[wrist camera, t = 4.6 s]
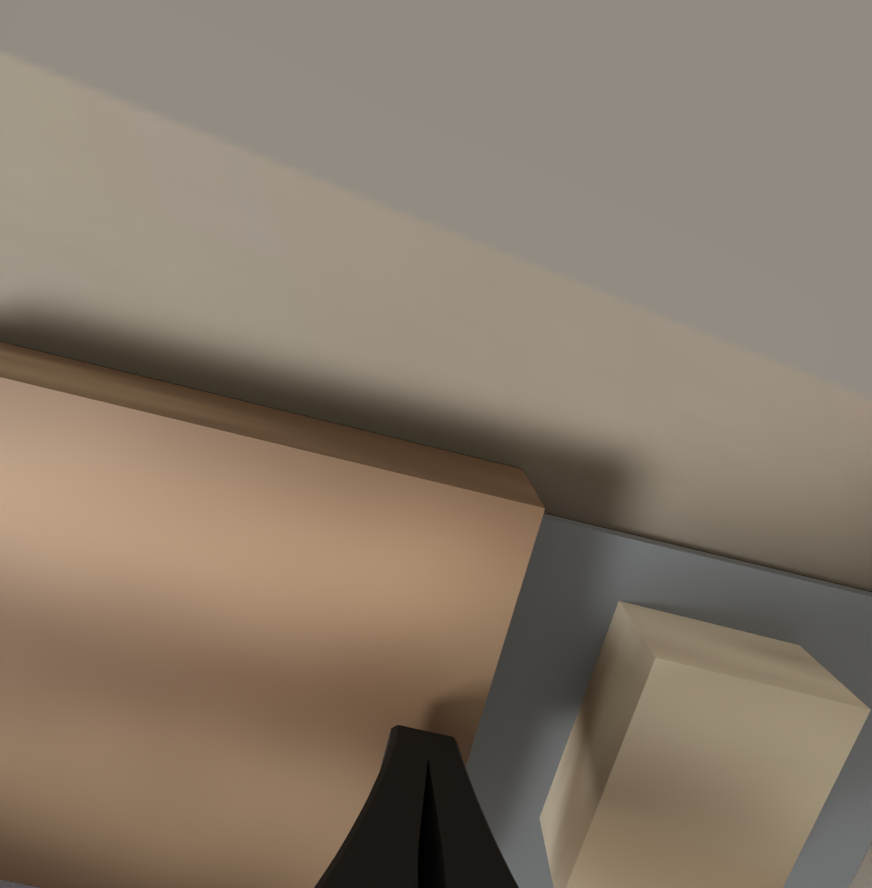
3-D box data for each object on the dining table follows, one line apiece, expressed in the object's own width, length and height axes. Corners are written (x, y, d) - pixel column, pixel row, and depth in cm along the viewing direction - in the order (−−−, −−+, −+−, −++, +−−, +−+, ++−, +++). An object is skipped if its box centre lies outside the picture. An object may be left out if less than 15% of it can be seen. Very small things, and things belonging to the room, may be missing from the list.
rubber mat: (787, 977, 18) (794, 992, 17) (406, 900, 17) (405, 914, 17) (968, 615, 15) (983, 623, 15) (523, 508, 14) (526, 513, 14)
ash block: (557, 908, 14) (539, 818, 16) (751, 949, 14) (704, 855, 16) (655, 658, 12) (618, 600, 14) (870, 709, 12) (798, 645, 15)
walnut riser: (412, 846, 17) (406, 959, 14) (-101, 740, 16) (-223, 835, 13) (522, 469, 14) (545, 508, 11) (-81, 321, 13) (-226, 322, 10)
